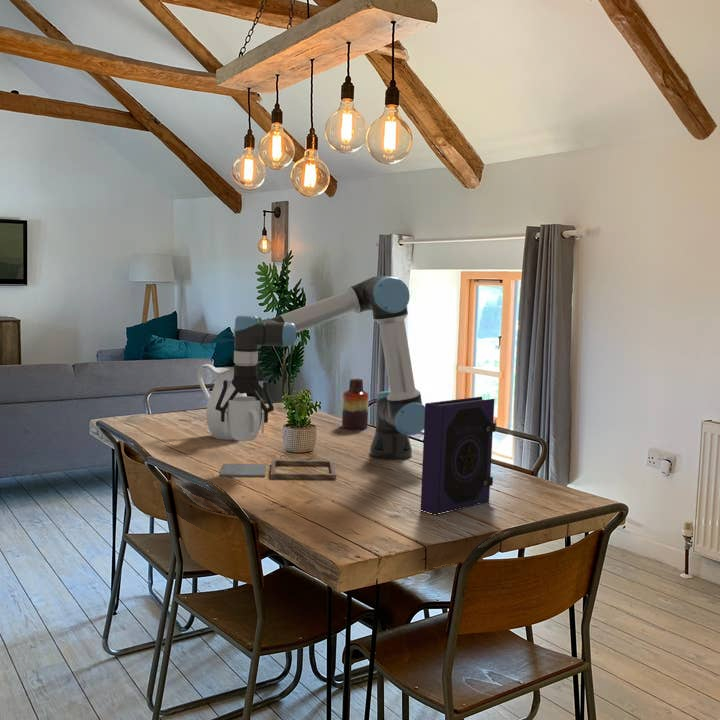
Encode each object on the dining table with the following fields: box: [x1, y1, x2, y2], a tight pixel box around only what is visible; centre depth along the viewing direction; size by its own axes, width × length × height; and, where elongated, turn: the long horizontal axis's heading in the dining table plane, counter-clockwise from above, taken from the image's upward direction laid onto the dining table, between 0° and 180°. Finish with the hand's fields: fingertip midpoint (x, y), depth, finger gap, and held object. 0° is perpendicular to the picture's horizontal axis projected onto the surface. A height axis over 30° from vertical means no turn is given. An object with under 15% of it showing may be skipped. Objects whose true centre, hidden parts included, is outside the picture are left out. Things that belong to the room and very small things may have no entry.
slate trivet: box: [219, 463, 267, 478], centre depth 248 cm, size 14×14×1 cm
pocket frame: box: [270, 459, 337, 480], centre depth 250 cm, size 20×18×2 cm
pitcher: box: [196, 363, 248, 441], centre depth 299 cm, size 24×17×28 cm
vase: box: [341, 378, 370, 431], centre depth 326 cm, size 11×11×20 cm
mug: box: [227, 395, 263, 442], centre depth 245 cm, size 15×11×13 cm
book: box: [420, 396, 497, 514], centre depth 216 cm, size 24×6×30 cm, turn 132°
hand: (244, 432), depth 247 cm, fingers closed on mug, 11 cm apart
